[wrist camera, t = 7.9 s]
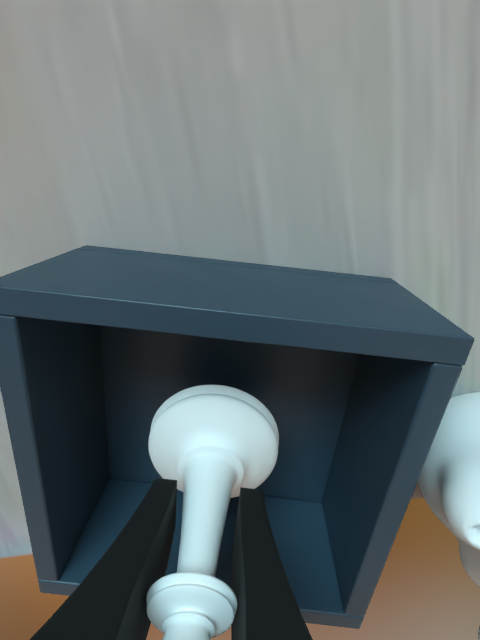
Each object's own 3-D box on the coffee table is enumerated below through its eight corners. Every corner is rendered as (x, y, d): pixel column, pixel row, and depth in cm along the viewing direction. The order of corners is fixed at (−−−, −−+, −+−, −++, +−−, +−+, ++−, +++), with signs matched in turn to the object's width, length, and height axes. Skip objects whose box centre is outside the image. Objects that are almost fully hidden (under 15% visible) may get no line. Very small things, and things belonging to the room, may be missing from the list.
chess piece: (158, 486, 14) (-12, 1059, 5) (142, 384, 12) (-178, 993, 3) (278, 486, 14) (333, 1080, 5) (279, 382, 12) (375, 1022, 3)
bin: (330, 501, 19) (359, 630, 13) (101, 475, 19) (39, 593, 13) (391, 278, 14) (475, 338, 9) (85, 245, 14) (-21, 284, 9)
